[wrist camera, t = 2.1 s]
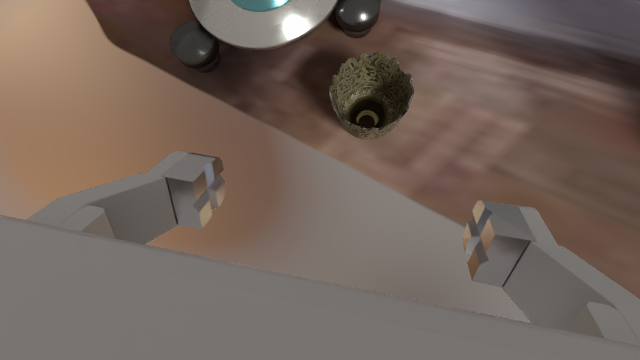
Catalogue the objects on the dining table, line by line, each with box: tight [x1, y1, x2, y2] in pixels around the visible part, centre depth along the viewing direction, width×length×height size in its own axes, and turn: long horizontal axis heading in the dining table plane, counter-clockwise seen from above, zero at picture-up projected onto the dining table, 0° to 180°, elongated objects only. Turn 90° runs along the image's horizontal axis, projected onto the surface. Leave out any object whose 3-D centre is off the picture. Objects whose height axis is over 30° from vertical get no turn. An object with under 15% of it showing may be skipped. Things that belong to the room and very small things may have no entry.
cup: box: [329, 52, 414, 139], centre depth 32 cm, size 7×7×8 cm
